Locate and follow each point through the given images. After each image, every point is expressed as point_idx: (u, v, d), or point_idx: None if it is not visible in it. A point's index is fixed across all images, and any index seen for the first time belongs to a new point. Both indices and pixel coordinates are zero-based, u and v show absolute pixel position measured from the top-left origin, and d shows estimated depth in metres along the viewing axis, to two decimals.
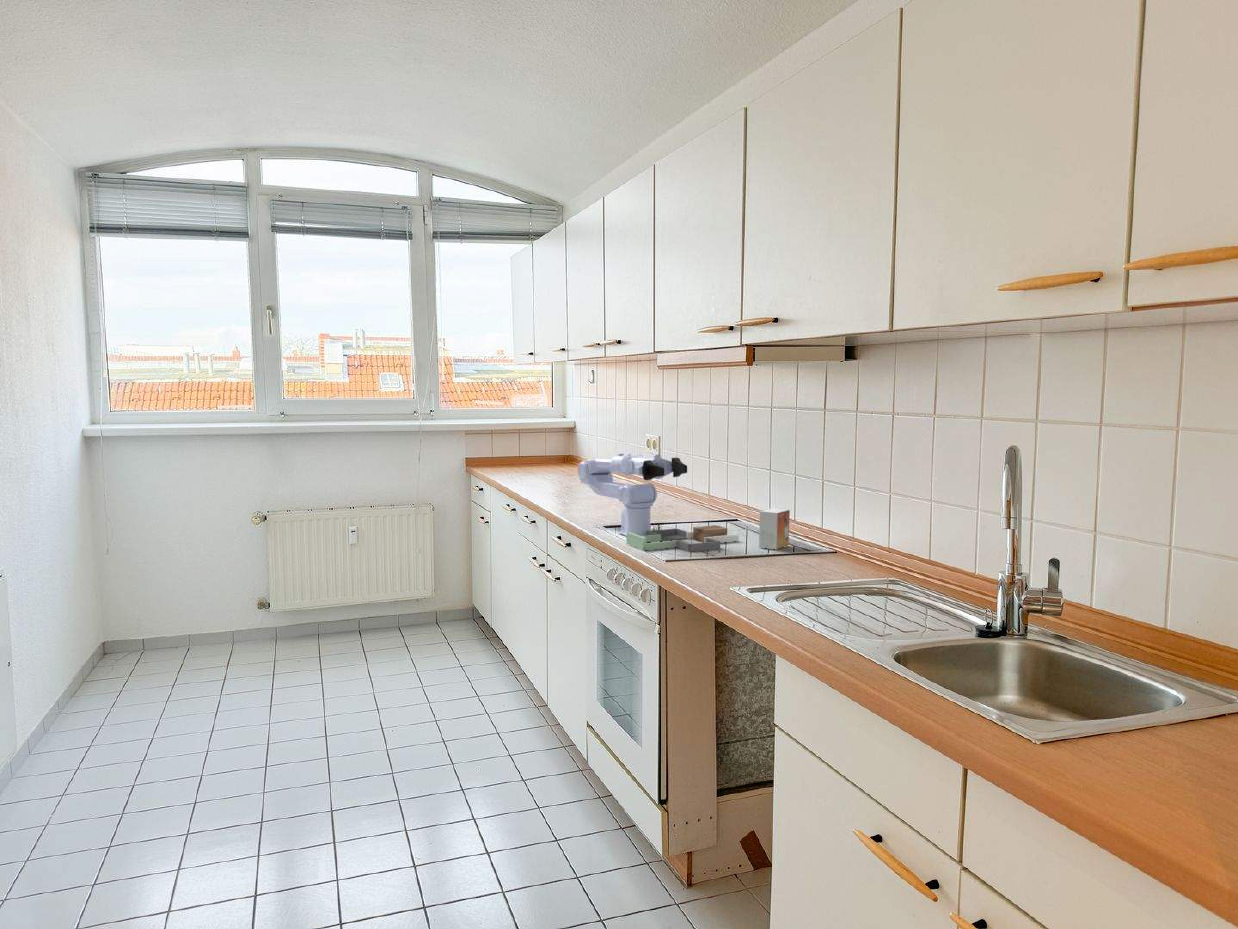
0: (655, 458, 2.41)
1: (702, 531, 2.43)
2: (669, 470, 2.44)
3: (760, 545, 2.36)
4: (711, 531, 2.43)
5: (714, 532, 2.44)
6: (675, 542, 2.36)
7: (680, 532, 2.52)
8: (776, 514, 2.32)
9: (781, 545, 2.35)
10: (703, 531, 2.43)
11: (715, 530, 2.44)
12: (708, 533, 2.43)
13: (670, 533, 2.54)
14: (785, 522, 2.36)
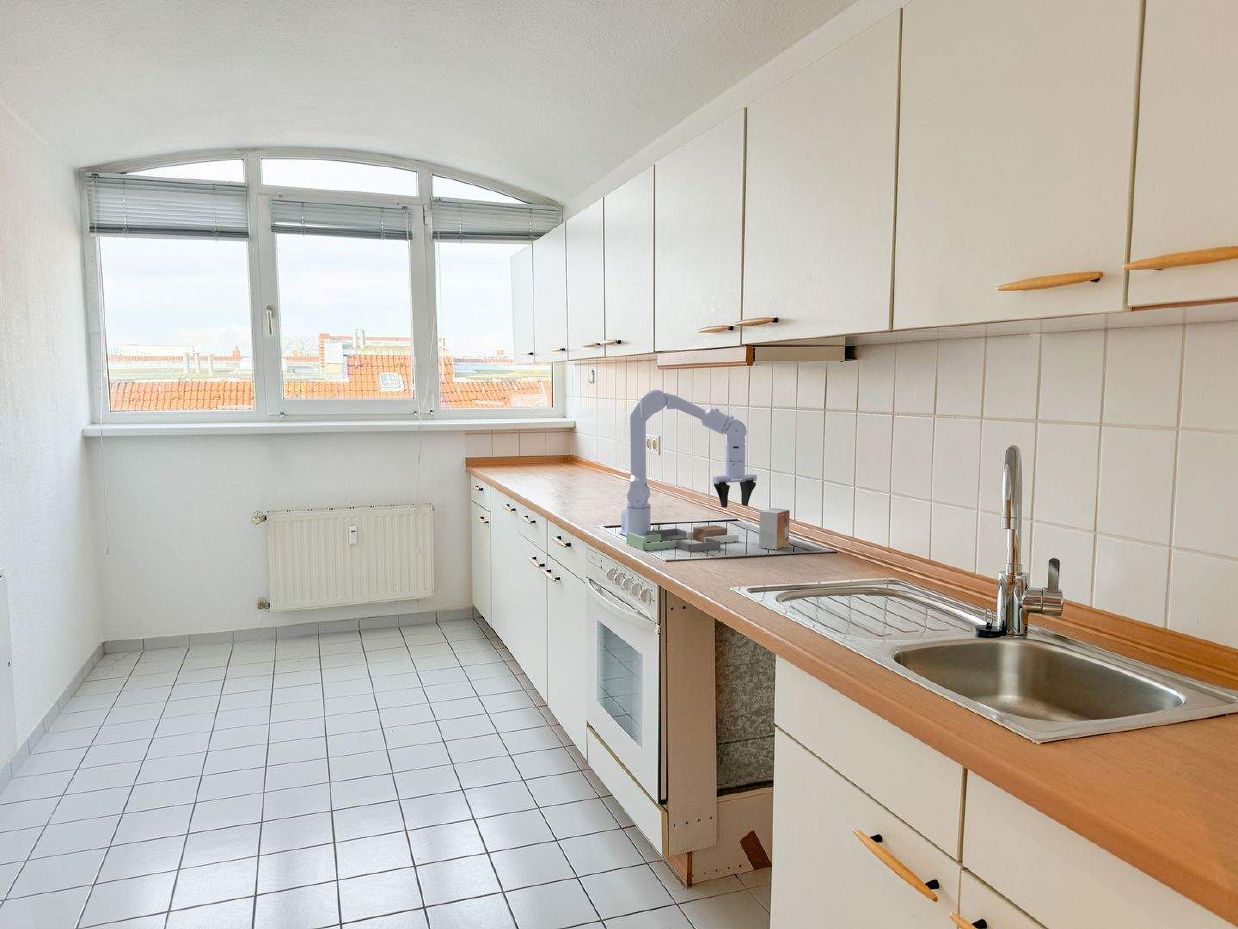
0: (738, 479, 2.46)
1: (702, 531, 2.43)
2: None
3: (760, 545, 2.36)
4: (711, 531, 2.43)
5: (714, 532, 2.44)
6: (675, 542, 2.36)
7: (680, 532, 2.52)
8: (776, 514, 2.32)
9: (781, 545, 2.35)
10: (703, 531, 2.43)
11: (715, 530, 2.44)
12: (709, 533, 2.43)
13: (670, 533, 2.54)
14: (785, 522, 2.36)
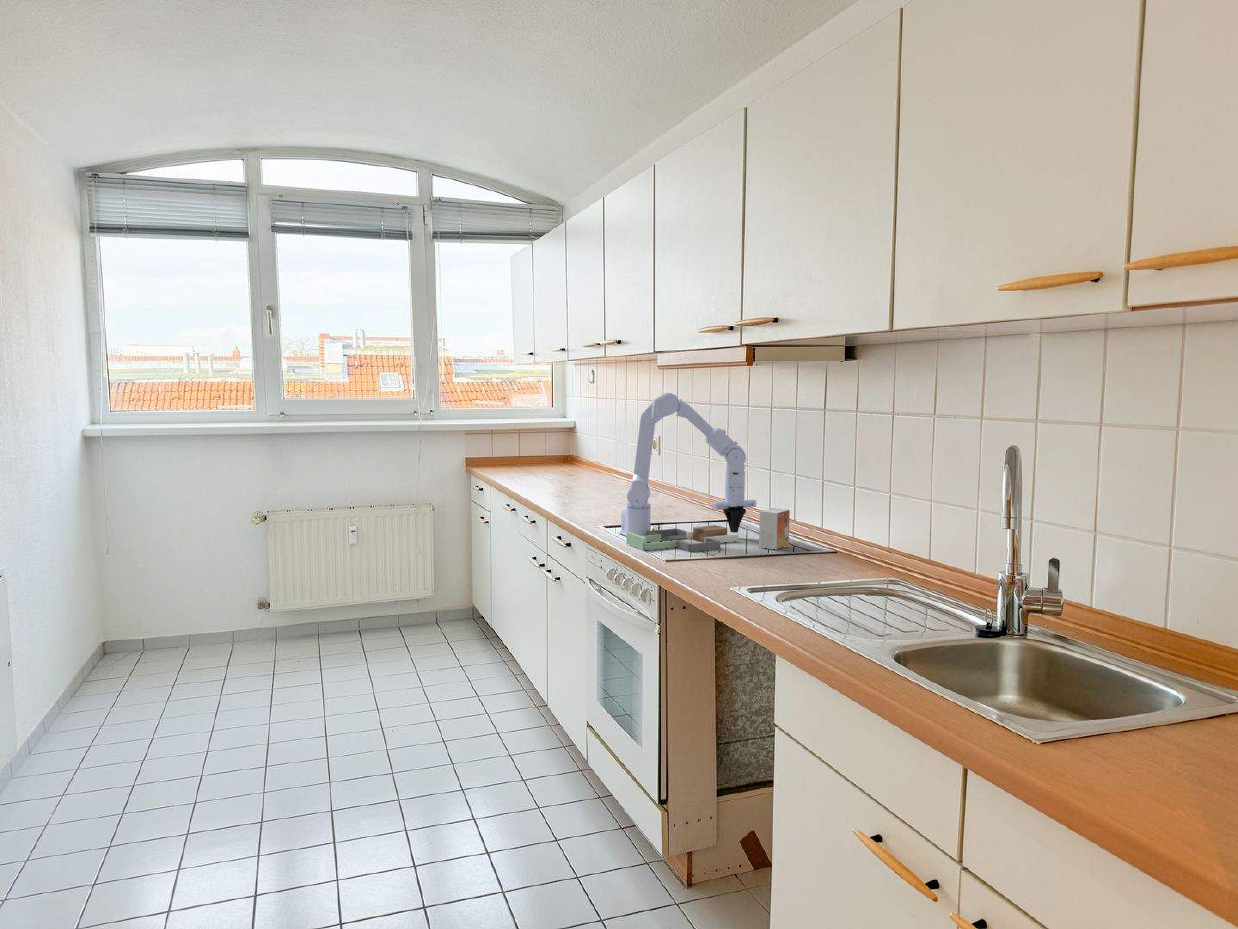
0: (737, 505, 2.47)
1: (703, 531, 2.43)
2: None
3: (760, 545, 2.36)
4: (712, 531, 2.43)
5: (715, 532, 2.44)
6: (675, 542, 2.36)
7: (680, 532, 2.52)
8: (776, 514, 2.32)
9: (781, 545, 2.35)
10: (704, 531, 2.43)
11: (716, 530, 2.44)
12: (709, 533, 2.43)
13: (670, 533, 2.54)
14: (785, 522, 2.36)
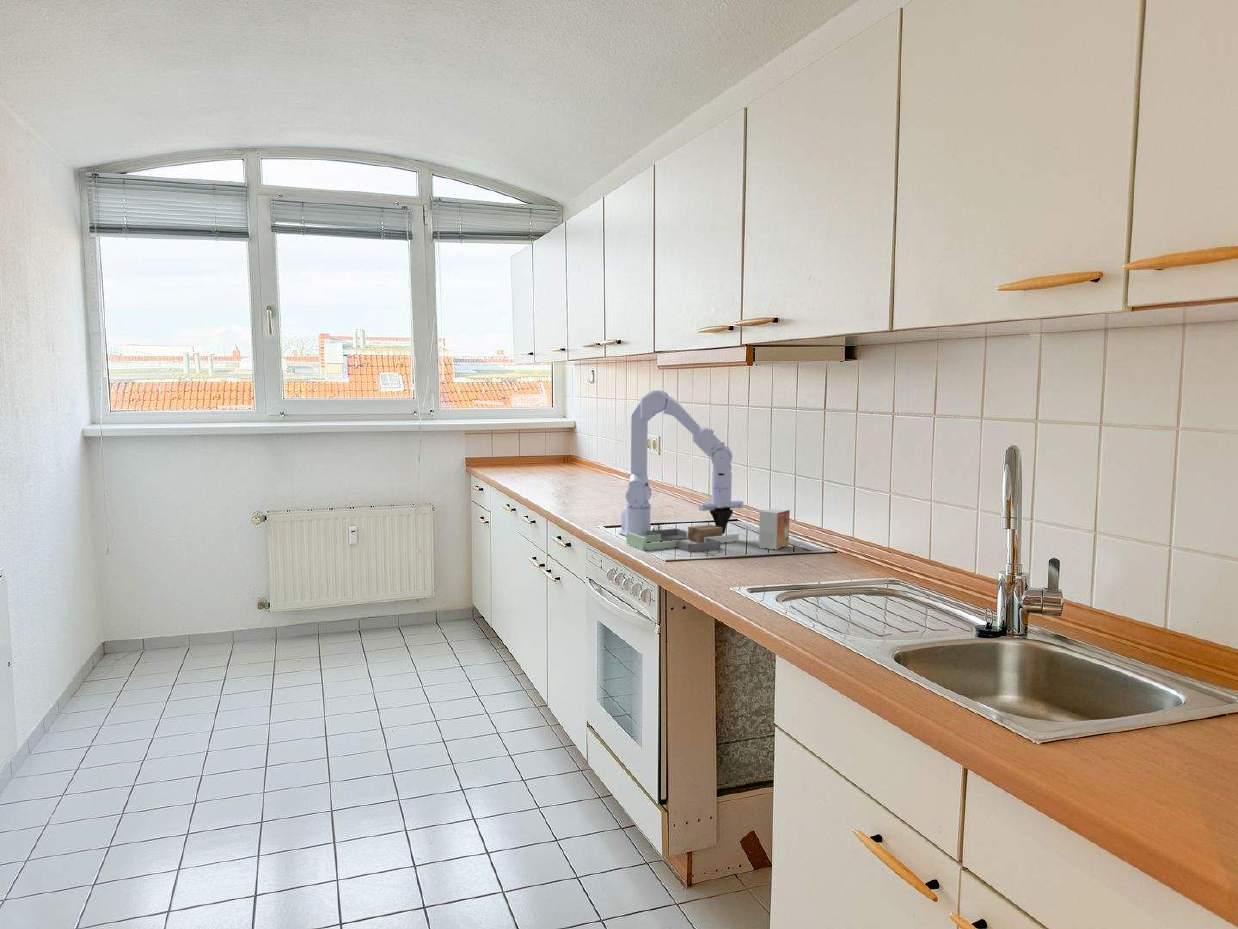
0: (724, 506, 2.45)
1: (697, 531, 2.43)
2: None
3: (760, 545, 2.36)
4: (706, 531, 2.43)
5: (709, 532, 2.43)
6: (675, 542, 2.36)
7: (680, 532, 2.52)
8: (776, 514, 2.32)
9: (781, 545, 2.35)
10: (698, 531, 2.42)
11: (710, 529, 2.44)
12: (703, 533, 2.43)
13: (670, 533, 2.54)
14: (785, 522, 2.36)
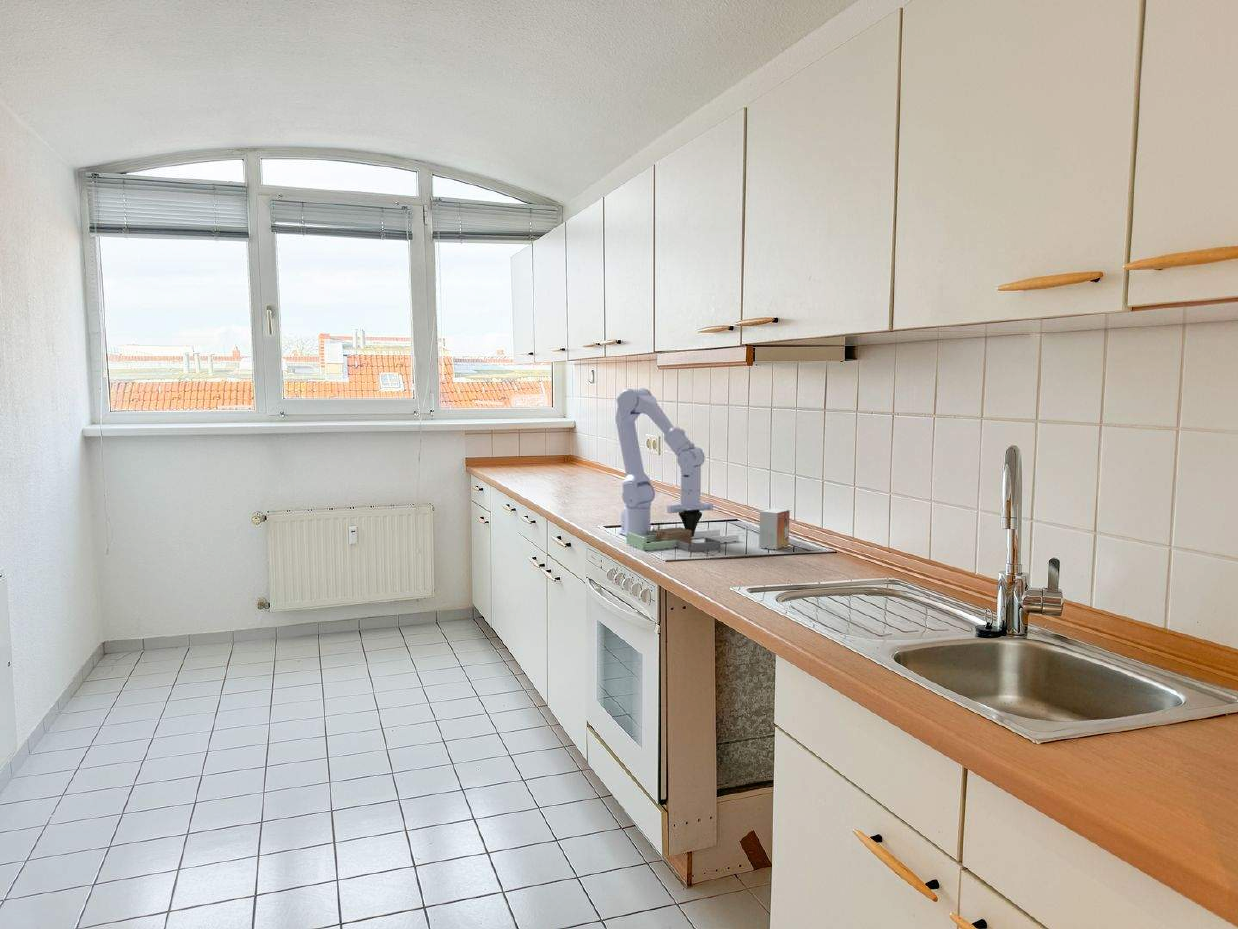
0: (693, 508, 2.40)
1: (665, 533, 2.38)
2: None
3: (760, 545, 2.36)
4: (674, 533, 2.38)
5: (677, 534, 2.38)
6: (675, 542, 2.36)
7: None
8: (776, 514, 2.32)
9: (781, 545, 2.35)
10: (666, 533, 2.37)
11: (678, 532, 2.39)
12: (671, 536, 2.38)
13: None
14: (785, 522, 2.36)
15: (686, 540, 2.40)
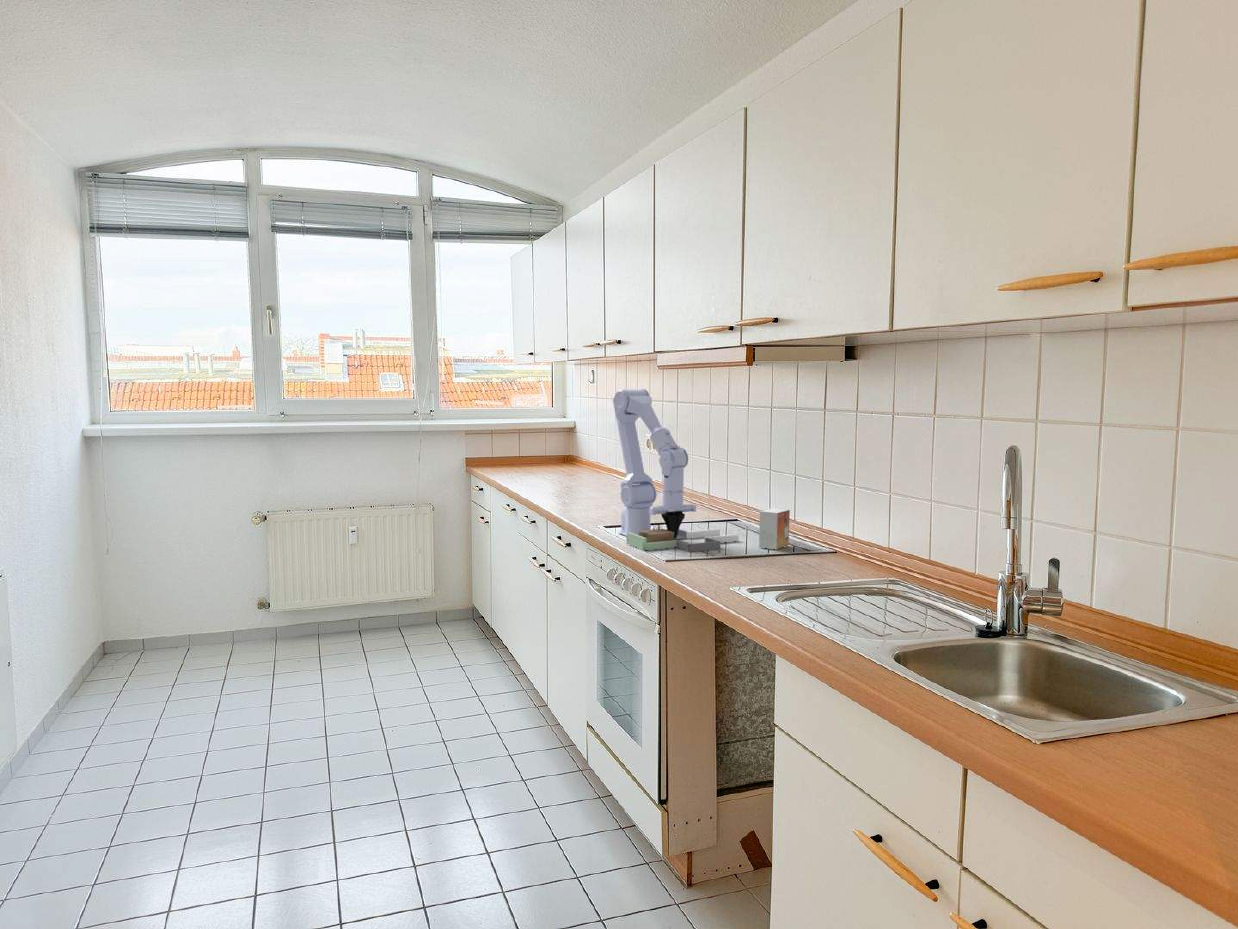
0: (675, 510, 2.37)
1: (647, 535, 2.35)
2: None
3: (760, 545, 2.36)
4: (656, 535, 2.35)
5: (659, 536, 2.36)
6: (675, 542, 2.36)
7: (680, 532, 2.52)
8: (776, 514, 2.32)
9: (781, 545, 2.35)
10: (648, 535, 2.35)
11: (661, 534, 2.36)
12: (653, 538, 2.35)
13: None
14: (785, 522, 2.36)
15: None
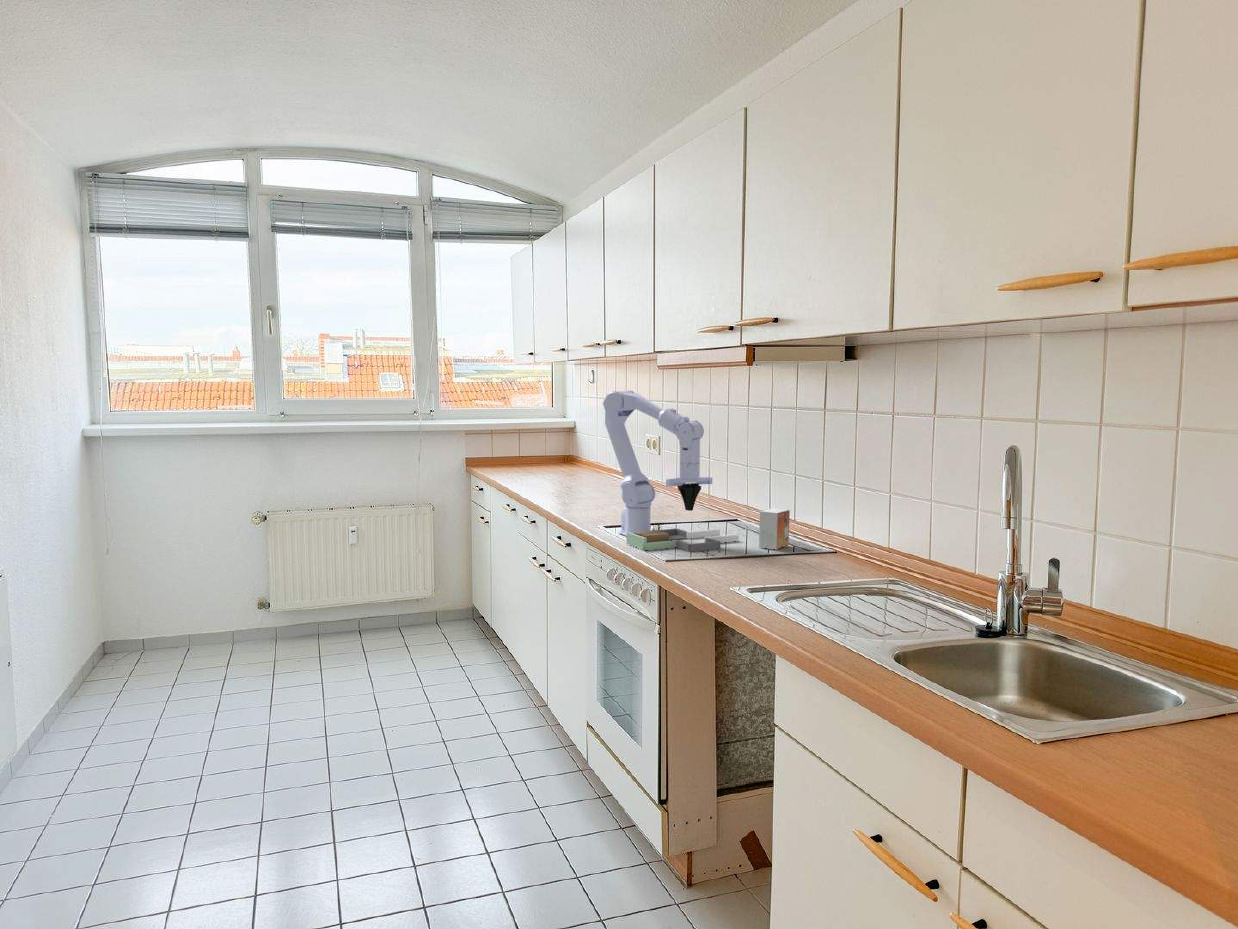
0: None
1: (642, 536, 2.34)
2: None
3: (760, 545, 2.36)
4: (651, 536, 2.35)
5: (654, 537, 2.35)
6: (675, 542, 2.36)
7: (680, 532, 2.52)
8: (776, 514, 2.32)
9: (781, 545, 2.35)
10: (643, 536, 2.34)
11: (655, 535, 2.35)
12: (648, 539, 2.34)
13: (670, 533, 2.54)
14: (785, 522, 2.36)
15: None
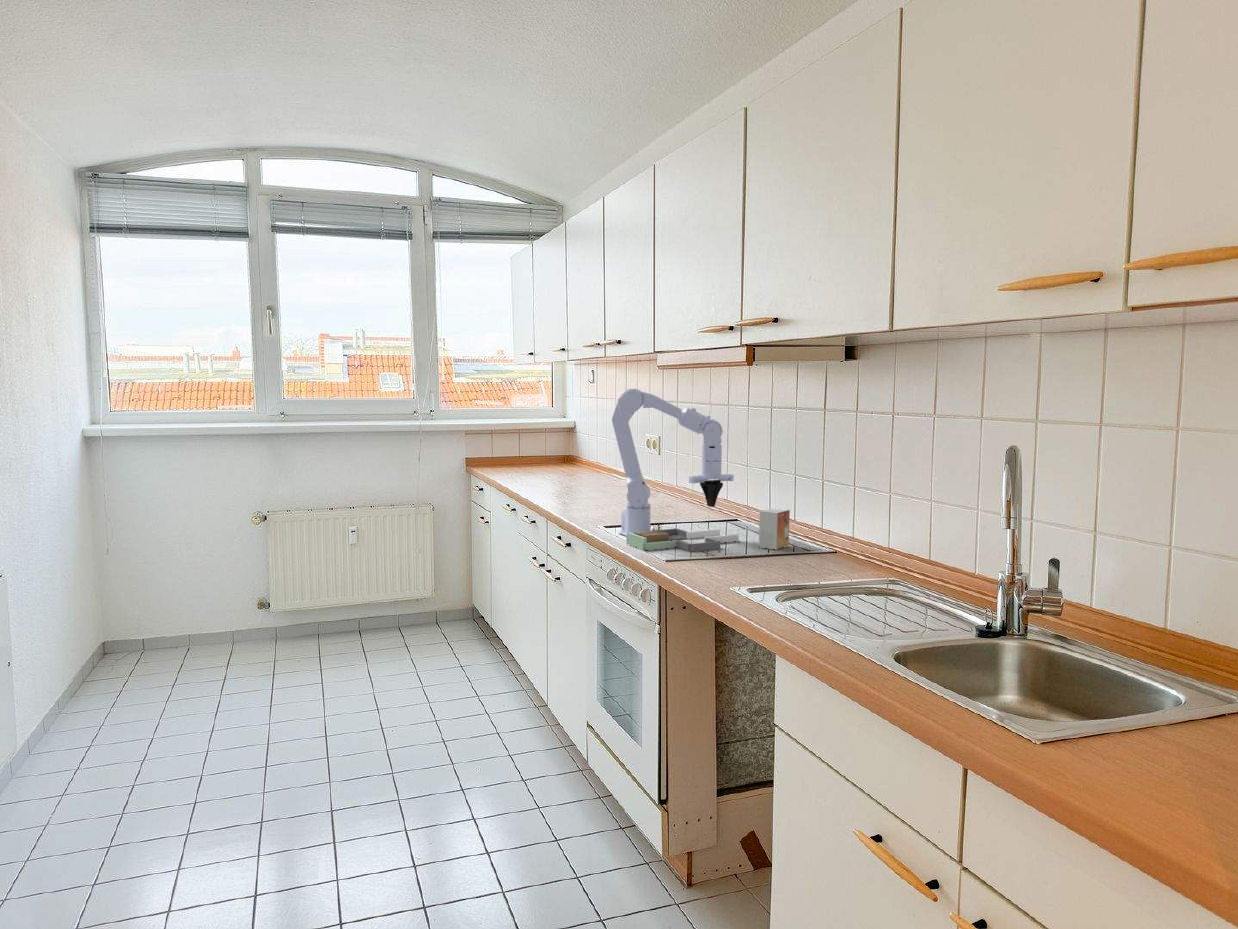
0: None
1: (642, 536, 2.34)
2: None
3: (760, 545, 2.36)
4: (651, 536, 2.35)
5: (654, 537, 2.35)
6: (675, 542, 2.36)
7: (680, 532, 2.52)
8: (776, 514, 2.32)
9: (781, 545, 2.35)
10: (642, 536, 2.34)
11: (655, 535, 2.35)
12: (648, 539, 2.34)
13: (670, 533, 2.54)
14: (785, 522, 2.36)
15: None
